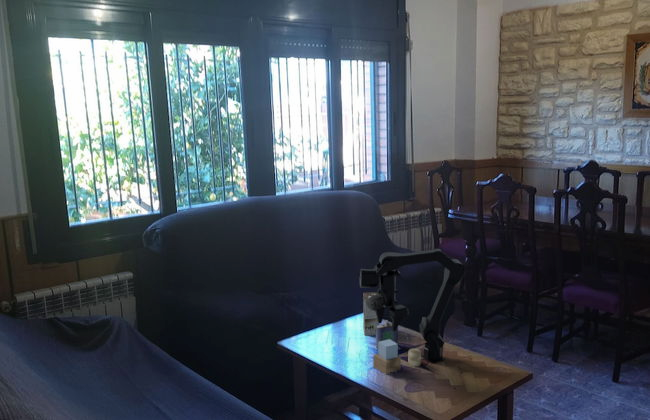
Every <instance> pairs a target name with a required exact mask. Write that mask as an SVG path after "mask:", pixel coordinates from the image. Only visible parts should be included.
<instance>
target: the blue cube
mask: <svg viewBox="0 0 650 420" xmlns="http://www.w3.org/2000/svg"><path fill="white" fill-rule="evenodd" d="M377 349H378V350H377V352H378V353H377V354H378V355H379V356H381V357H382V358H384V359H385V360H388V359H392V358H396V357H397V355H398V353H399V352H398V350H399V348H398V342H397V343H395V342H393V341H392V340H390V339H389V340H384V341H380V342H378V348H377Z"/></svg>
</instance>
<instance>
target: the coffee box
mask: <svg viewBox="0 0 650 420" xmlns="http://www.w3.org/2000/svg"><path fill="white" fill-rule="evenodd" d="M375 294H377V291H375V292H371V291H369V292H363V303H362V305H363V315H362V316H363V317H362V319H363V323H362V325H363V335H364V336H376V328H377V326H379V325H380V323H379V322H378V319H377V316H376V312H375V311H373V310H372V309H370V308H368V306H367V303H366V299H368V297H369V296H370V295H375Z"/></svg>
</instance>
